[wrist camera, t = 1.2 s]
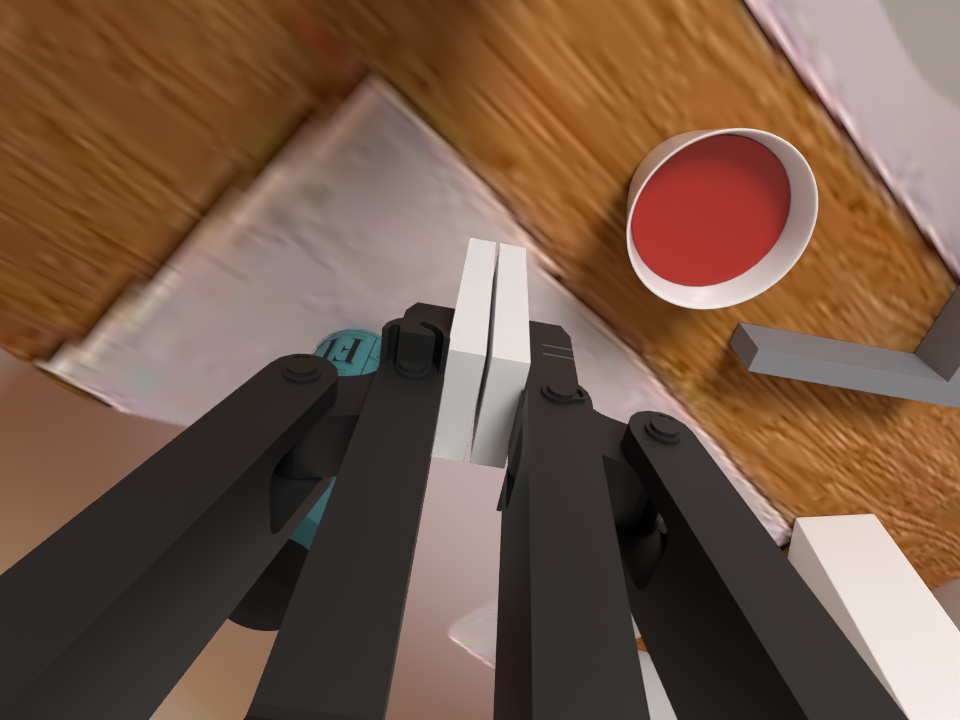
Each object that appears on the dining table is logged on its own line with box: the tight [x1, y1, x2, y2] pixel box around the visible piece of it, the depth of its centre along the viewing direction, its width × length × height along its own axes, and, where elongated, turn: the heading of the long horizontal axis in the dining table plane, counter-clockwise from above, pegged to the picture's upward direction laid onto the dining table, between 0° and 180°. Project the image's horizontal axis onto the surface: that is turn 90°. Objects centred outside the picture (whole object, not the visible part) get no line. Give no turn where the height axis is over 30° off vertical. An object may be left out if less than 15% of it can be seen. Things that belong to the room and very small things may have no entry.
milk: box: [787, 514, 960, 720], centre depth 38 cm, size 6×6×22 cm
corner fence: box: [730, 284, 960, 408], centre depth 32 cm, size 18×14×4 cm
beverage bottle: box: [228, 329, 382, 631], centre depth 32 cm, size 6×7×20 cm
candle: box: [626, 128, 818, 309], centre depth 31 cm, size 9×9×6 cm
